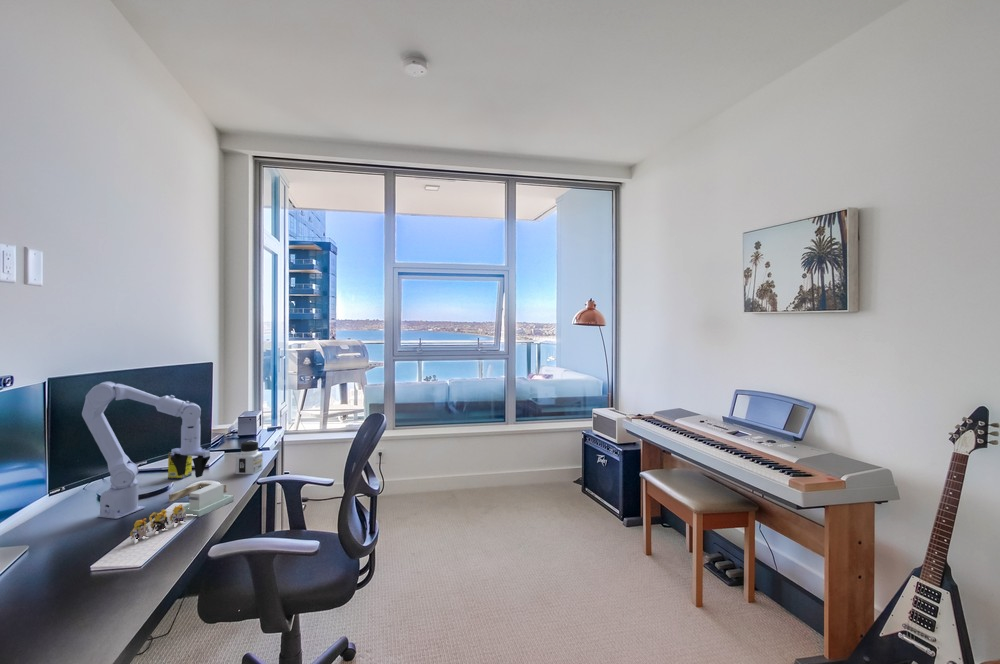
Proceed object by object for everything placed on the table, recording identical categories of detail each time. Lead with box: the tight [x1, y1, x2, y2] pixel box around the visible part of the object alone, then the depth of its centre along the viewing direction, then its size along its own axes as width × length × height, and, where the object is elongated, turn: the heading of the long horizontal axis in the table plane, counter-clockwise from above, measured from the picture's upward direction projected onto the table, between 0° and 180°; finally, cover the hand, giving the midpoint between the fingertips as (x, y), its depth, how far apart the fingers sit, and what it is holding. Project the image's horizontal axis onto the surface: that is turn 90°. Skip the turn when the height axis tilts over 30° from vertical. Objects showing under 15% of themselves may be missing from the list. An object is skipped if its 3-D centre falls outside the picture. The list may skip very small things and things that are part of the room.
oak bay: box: [168, 482, 227, 503], centre depth 166 cm, size 13×12×2 cm
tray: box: [182, 493, 235, 518], centre depth 156 cm, size 15×9×2 cm, turn 168°
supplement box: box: [167, 451, 193, 480], centre depth 188 cm, size 6×6×11 cm
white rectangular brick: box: [188, 483, 225, 510], centre depth 155 cm, size 11×4×6 cm, turn 168°
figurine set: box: [129, 504, 188, 541], centre depth 137 cm, size 3×16×7 cm, turn 162°
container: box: [235, 440, 264, 475], centre depth 196 cm, size 8×8×13 cm
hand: (190, 475), depth 161 cm, fingers open, 7 cm apart
